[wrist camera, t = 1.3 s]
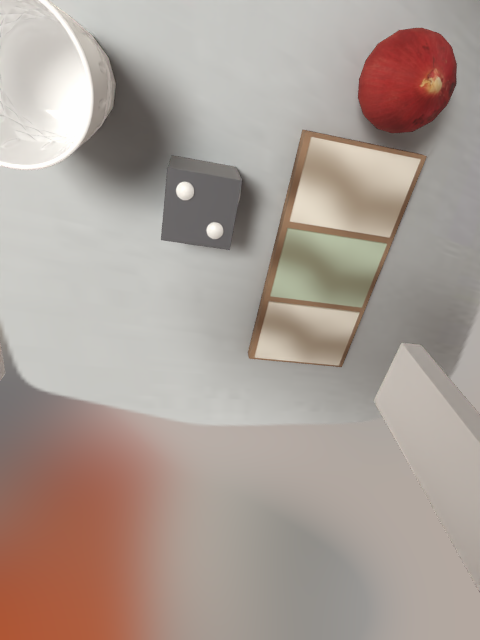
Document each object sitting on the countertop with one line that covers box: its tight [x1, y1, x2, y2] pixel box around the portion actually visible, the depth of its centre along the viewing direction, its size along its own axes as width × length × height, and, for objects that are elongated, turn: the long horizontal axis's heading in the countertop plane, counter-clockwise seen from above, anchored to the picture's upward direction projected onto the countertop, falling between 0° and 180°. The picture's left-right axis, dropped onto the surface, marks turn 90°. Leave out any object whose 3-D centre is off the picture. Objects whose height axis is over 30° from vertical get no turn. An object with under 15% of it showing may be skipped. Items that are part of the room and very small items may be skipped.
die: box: [161, 155, 242, 250], centre depth 29 cm, size 5×5×5 cm
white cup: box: [0, 0, 116, 170], centre depth 22 cm, size 8×8×10 cm
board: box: [248, 130, 427, 367], centre depth 35 cm, size 21×10×1 cm, turn 169°
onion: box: [358, 28, 457, 133], centre depth 25 cm, size 6×6×8 cm
